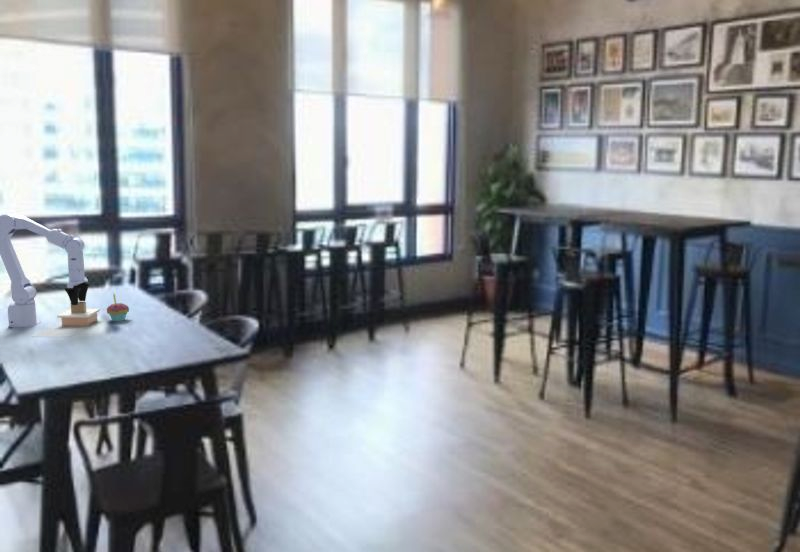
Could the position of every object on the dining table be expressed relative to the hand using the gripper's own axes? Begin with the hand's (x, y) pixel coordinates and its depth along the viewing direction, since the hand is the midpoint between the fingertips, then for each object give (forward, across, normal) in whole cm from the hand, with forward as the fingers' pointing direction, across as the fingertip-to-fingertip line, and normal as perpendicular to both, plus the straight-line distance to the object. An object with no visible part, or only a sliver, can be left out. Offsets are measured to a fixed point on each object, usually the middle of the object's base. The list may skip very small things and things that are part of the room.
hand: (78, 302), depth 297 cm
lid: (+5, 0, 0) cm, 5 cm away
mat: (+9, -15, +2) cm, 17 cm away
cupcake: (+9, +6, -13) cm, 17 cm away
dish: (+9, 0, 0) cm, 9 cm away
